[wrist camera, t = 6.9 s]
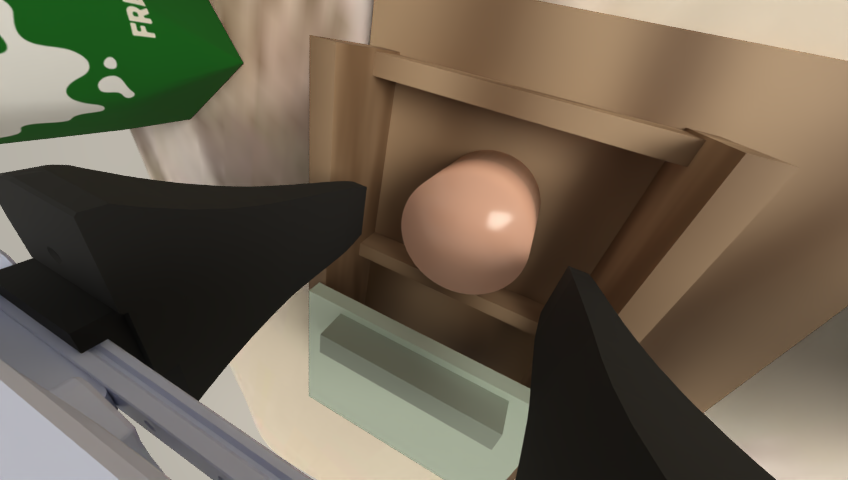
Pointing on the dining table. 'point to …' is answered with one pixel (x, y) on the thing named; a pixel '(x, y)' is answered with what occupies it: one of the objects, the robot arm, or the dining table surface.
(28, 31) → the milk carton
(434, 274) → the tan domed cylinder
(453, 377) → the lid
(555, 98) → the brown wooden tray
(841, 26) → the dining table surface
